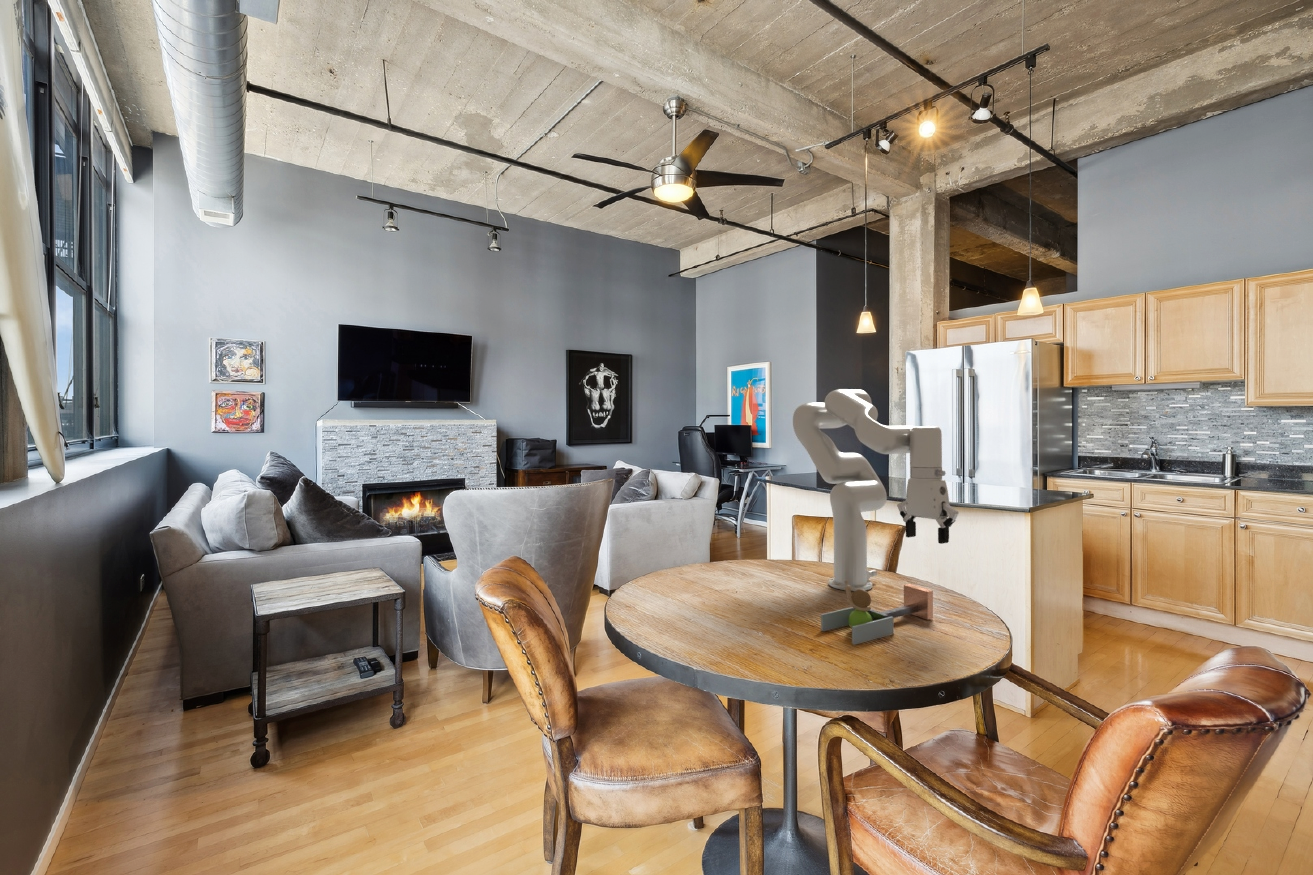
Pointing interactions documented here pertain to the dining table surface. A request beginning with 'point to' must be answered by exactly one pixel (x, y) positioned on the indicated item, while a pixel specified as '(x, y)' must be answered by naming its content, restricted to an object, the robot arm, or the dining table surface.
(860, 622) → the snail figurine
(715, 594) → the dining table surface
